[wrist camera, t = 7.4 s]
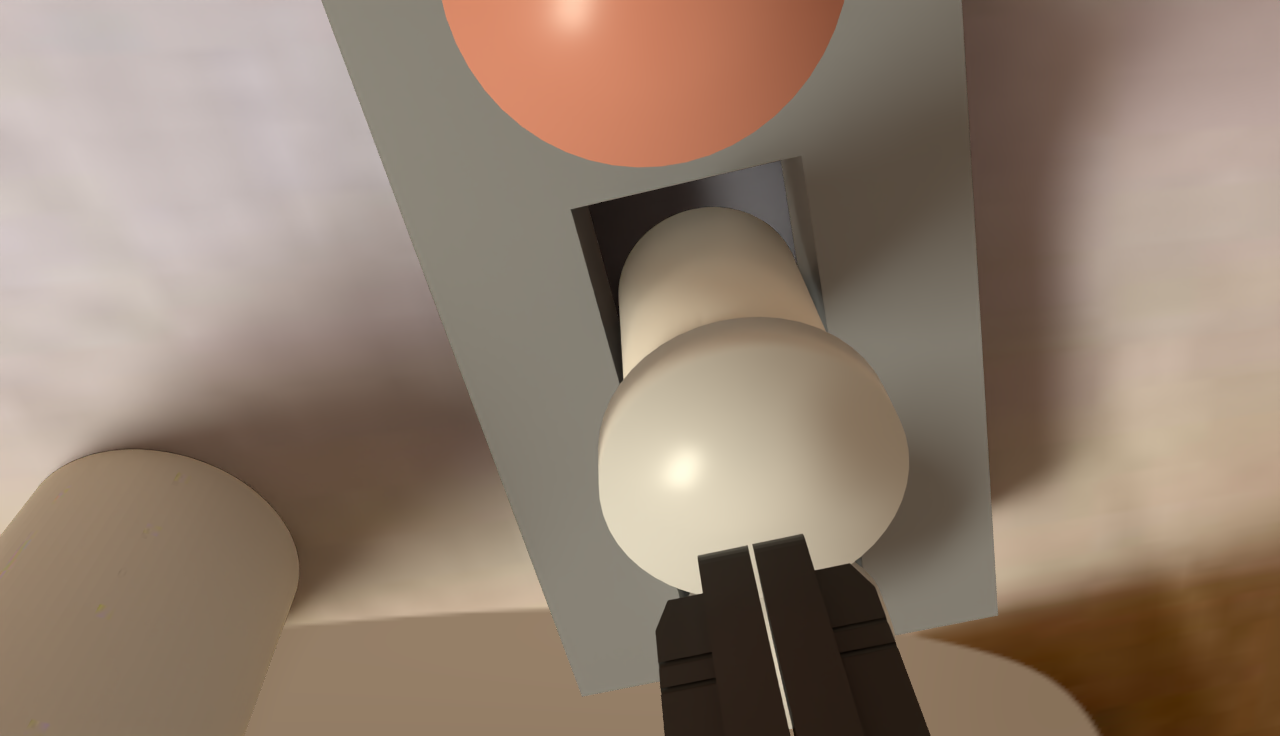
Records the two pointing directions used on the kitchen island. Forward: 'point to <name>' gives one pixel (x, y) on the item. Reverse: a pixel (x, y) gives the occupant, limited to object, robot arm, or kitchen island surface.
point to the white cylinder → (140, 600)
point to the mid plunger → (739, 408)
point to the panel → (589, 325)
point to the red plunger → (642, 69)
